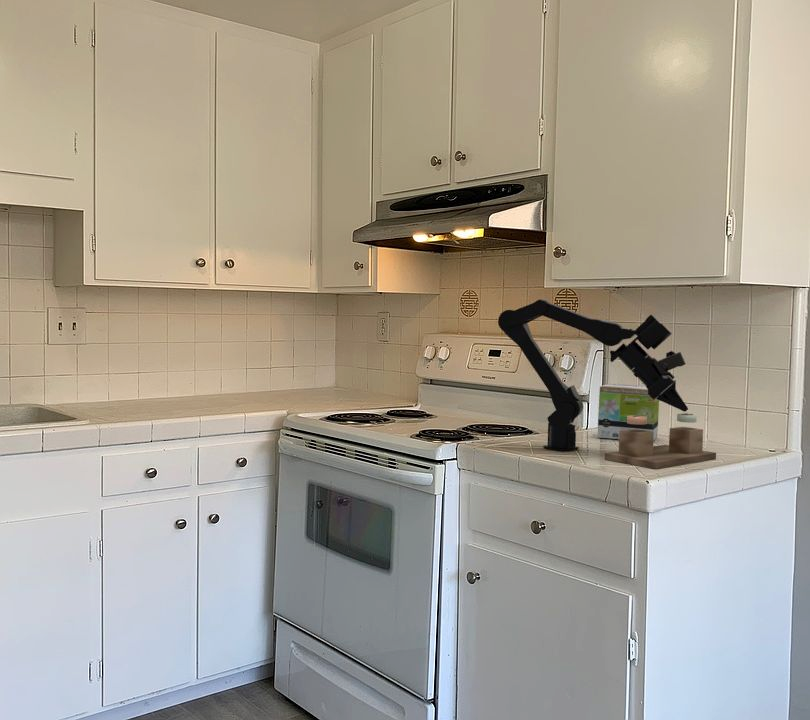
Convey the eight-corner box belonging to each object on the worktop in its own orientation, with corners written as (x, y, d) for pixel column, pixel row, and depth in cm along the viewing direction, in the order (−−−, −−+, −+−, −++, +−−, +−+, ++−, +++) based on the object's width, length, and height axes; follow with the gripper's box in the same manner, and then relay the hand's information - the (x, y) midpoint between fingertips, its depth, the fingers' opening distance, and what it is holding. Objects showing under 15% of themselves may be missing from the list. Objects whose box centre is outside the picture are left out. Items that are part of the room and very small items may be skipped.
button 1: (623, 422, 186) (623, 415, 186) (634, 421, 188) (634, 414, 188) (638, 425, 182) (639, 417, 182) (650, 423, 185) (650, 416, 185)
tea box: (596, 438, 220) (598, 385, 219) (603, 434, 229) (605, 383, 228) (653, 443, 213) (655, 388, 213) (658, 438, 222) (660, 385, 222)
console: (604, 459, 187) (605, 429, 186) (664, 450, 201) (665, 423, 201) (655, 469, 176) (657, 437, 175) (715, 458, 190) (717, 429, 190)
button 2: (673, 420, 191) (673, 413, 191) (683, 419, 194) (684, 412, 194) (689, 423, 188) (689, 415, 188) (700, 421, 190) (700, 414, 190)
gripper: (664, 340, 183) (714, 390, 180) (666, 339, 200) (711, 384, 197) (628, 373, 186) (676, 423, 183) (632, 369, 203) (677, 414, 200)
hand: (686, 410), depth 191 cm, fingers closed
